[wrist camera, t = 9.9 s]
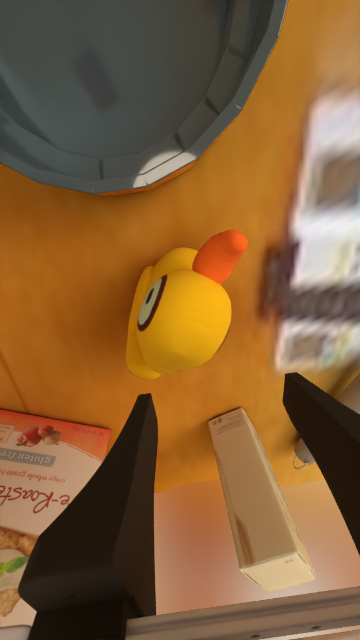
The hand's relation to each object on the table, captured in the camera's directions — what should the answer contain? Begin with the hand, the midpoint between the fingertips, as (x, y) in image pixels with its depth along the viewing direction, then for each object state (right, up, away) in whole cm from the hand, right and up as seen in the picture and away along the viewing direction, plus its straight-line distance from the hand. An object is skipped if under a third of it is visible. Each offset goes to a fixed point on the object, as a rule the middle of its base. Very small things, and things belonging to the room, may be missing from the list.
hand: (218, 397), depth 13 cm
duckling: (-3, +7, +7) cm, 10 cm away
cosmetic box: (+4, -9, +15) cm, 18 cm away
